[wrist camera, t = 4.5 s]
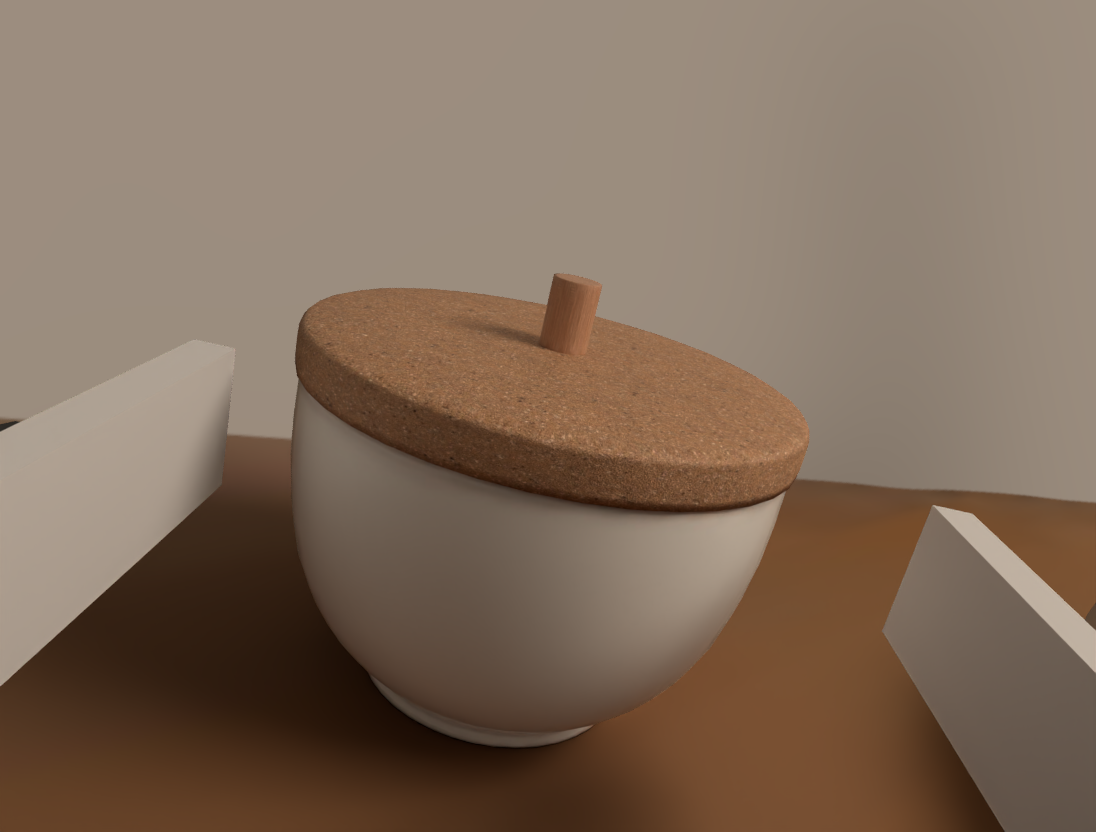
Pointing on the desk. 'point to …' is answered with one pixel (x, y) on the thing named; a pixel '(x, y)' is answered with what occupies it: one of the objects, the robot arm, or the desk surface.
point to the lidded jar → (526, 502)
